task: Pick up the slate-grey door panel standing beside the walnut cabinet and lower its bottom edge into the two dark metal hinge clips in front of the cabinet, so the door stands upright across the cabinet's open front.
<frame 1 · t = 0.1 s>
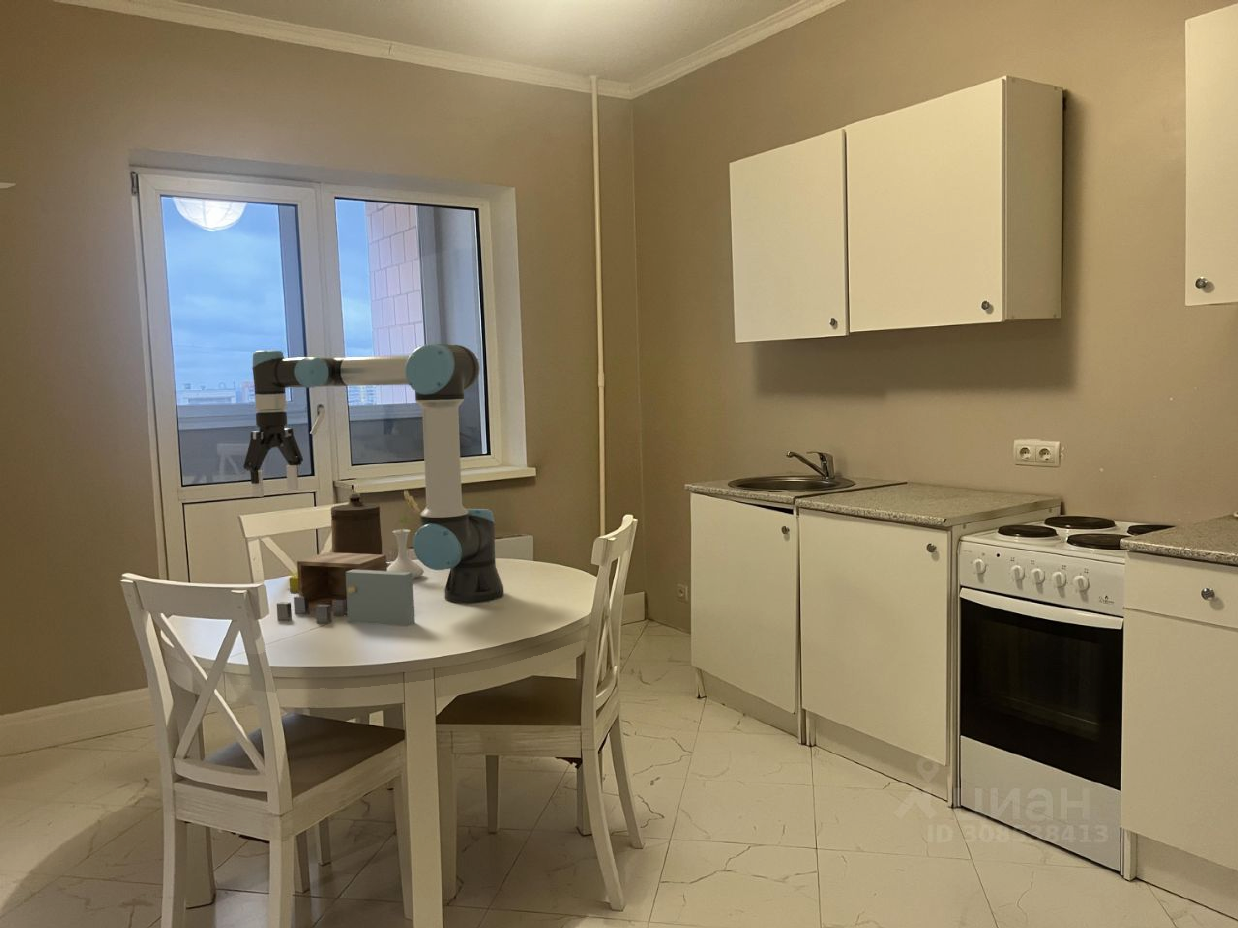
hand: (276, 493, 243), 28 cm above the table, tool pointing down, fingers open, 13 cm apart
wooden container: (358, 565, 289), on the table
door: (381, 622, 220), on the table
cabinet: (344, 604, 238), on the table
bracket: (311, 589, 259), on the table
hinge clips: (312, 617, 226), on the table
flower in vase: (405, 578, 267), on the table
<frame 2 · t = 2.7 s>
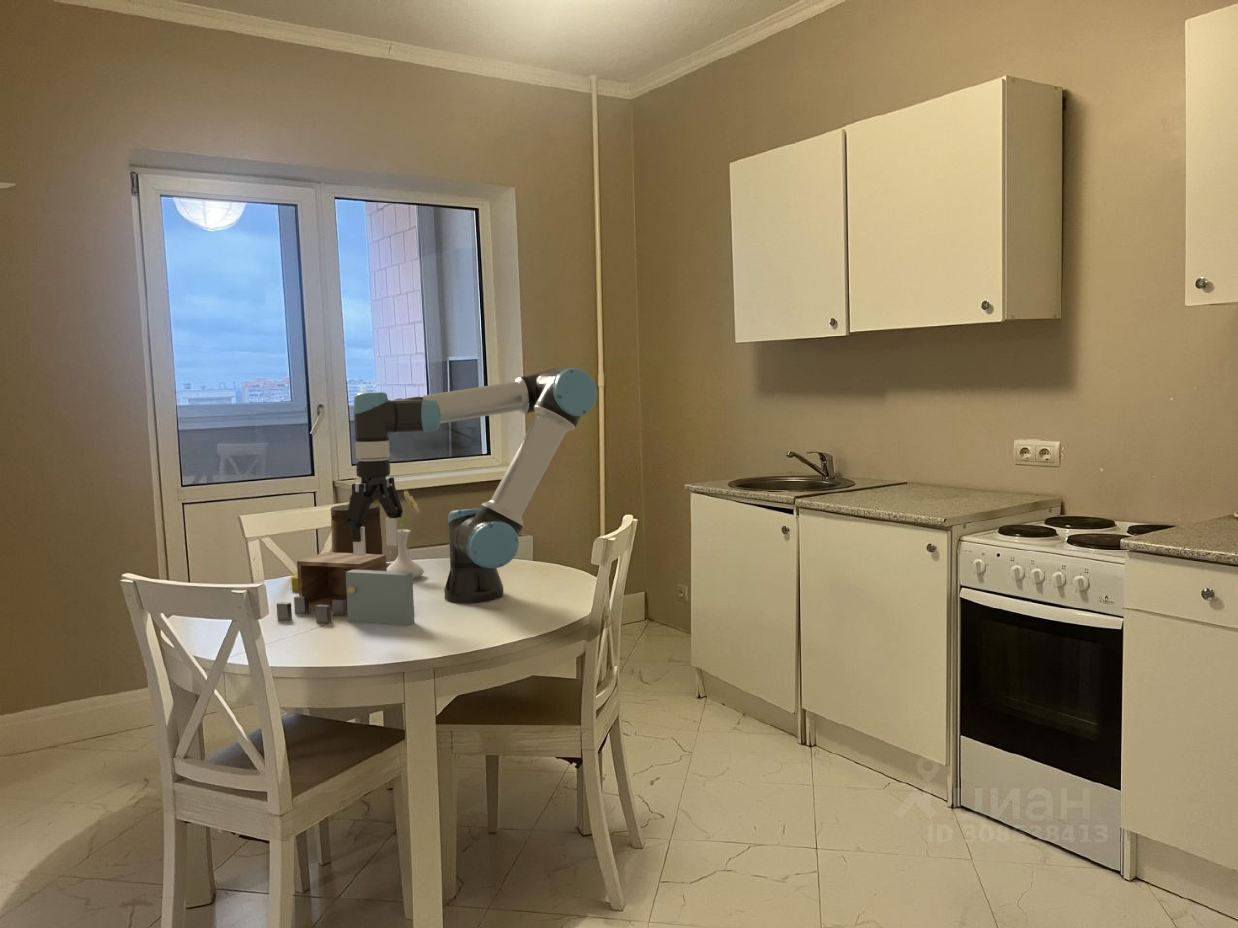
hand: (376, 550, 218), 17 cm above the table, tool pointing down, fingers open, 13 cm apart
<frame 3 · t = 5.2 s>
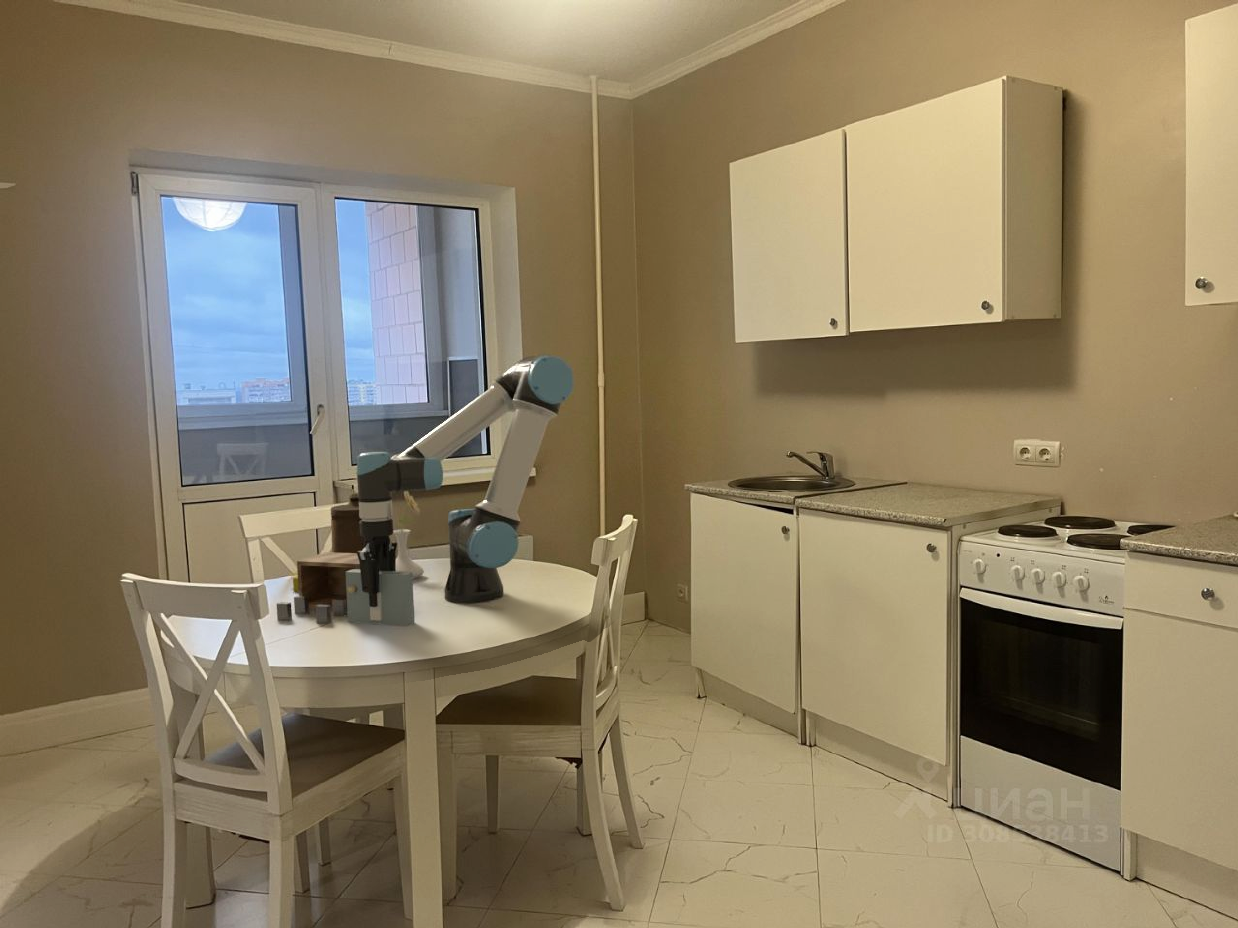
hand: (380, 617, 220), 1 cm above the table, tool pointing down, fingers closed on door, 3 cm apart
door: (381, 622, 220), on the table, touching gripper
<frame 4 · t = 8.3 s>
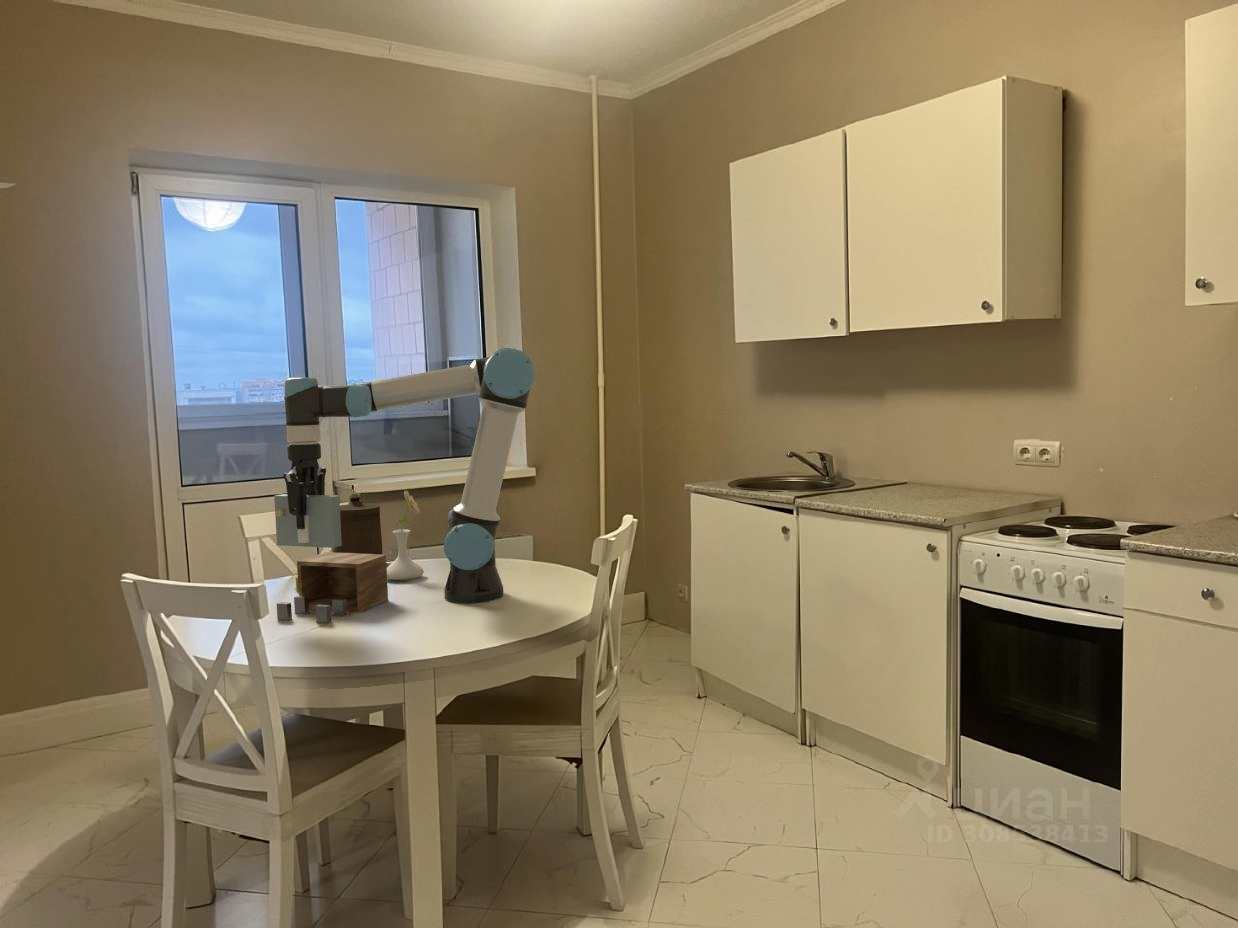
hand: (308, 540, 224), 19 cm above the table, tool pointing down, fingers closed on door, 3 cm apart
door: (309, 545, 224), point 18 cm above the table, touching gripper
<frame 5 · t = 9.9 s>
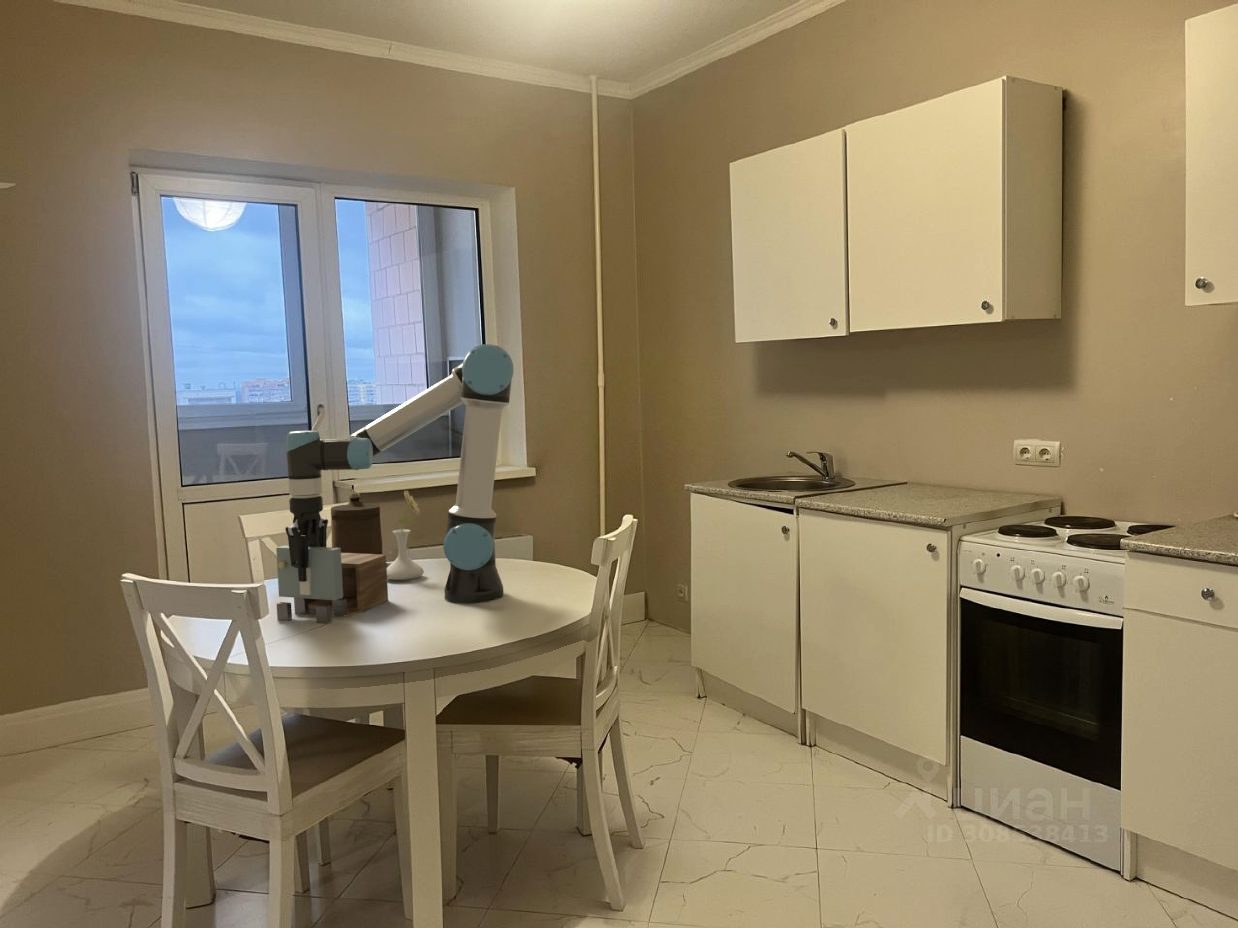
hand: (310, 592, 225), 6 cm above the table, tool pointing down, fingers closed on door, 3 cm apart
door: (310, 596, 225), point 5 cm above the table, touching gripper
when the fingers open (2 cm above the table, at t = 11.4 s): door stays where it is, on the table.
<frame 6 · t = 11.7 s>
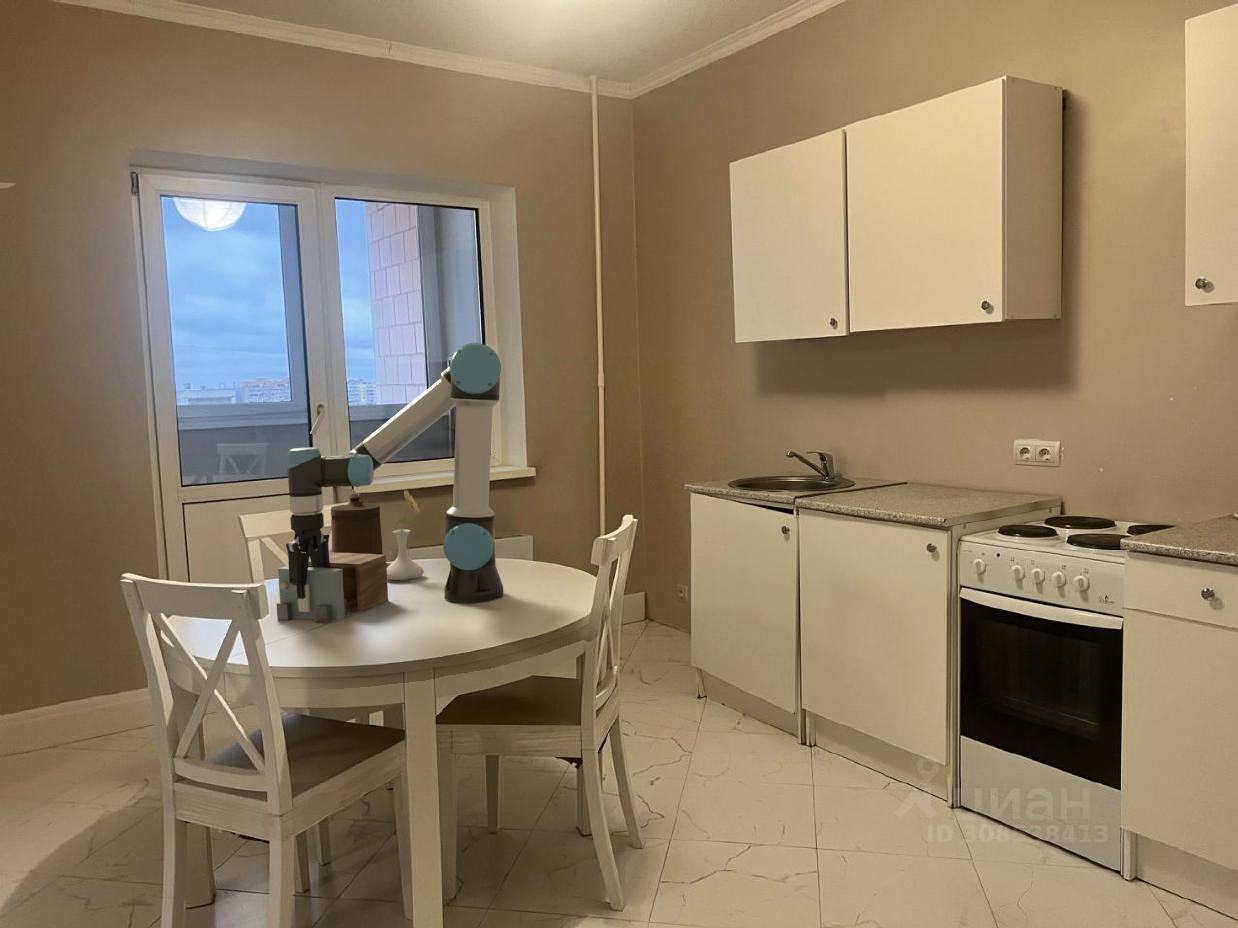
hand: (312, 608, 225), 2 cm above the table, tool pointing down, fingers open, 5 cm apart
door: (312, 617, 226), on the table
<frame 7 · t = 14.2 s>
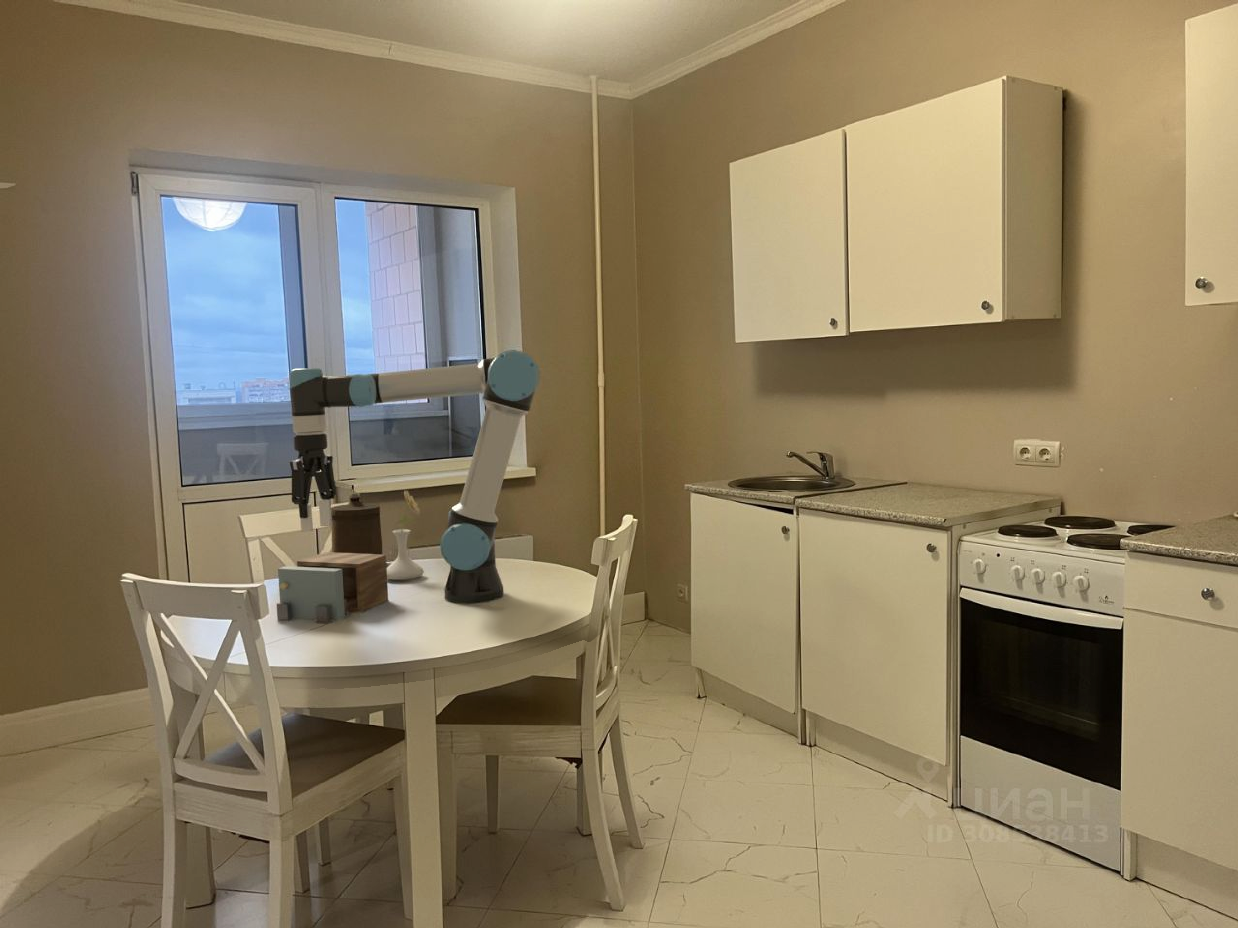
hand: (316, 528, 225), 21 cm above the table, tool pointing down, fingers open, 7 cm apart
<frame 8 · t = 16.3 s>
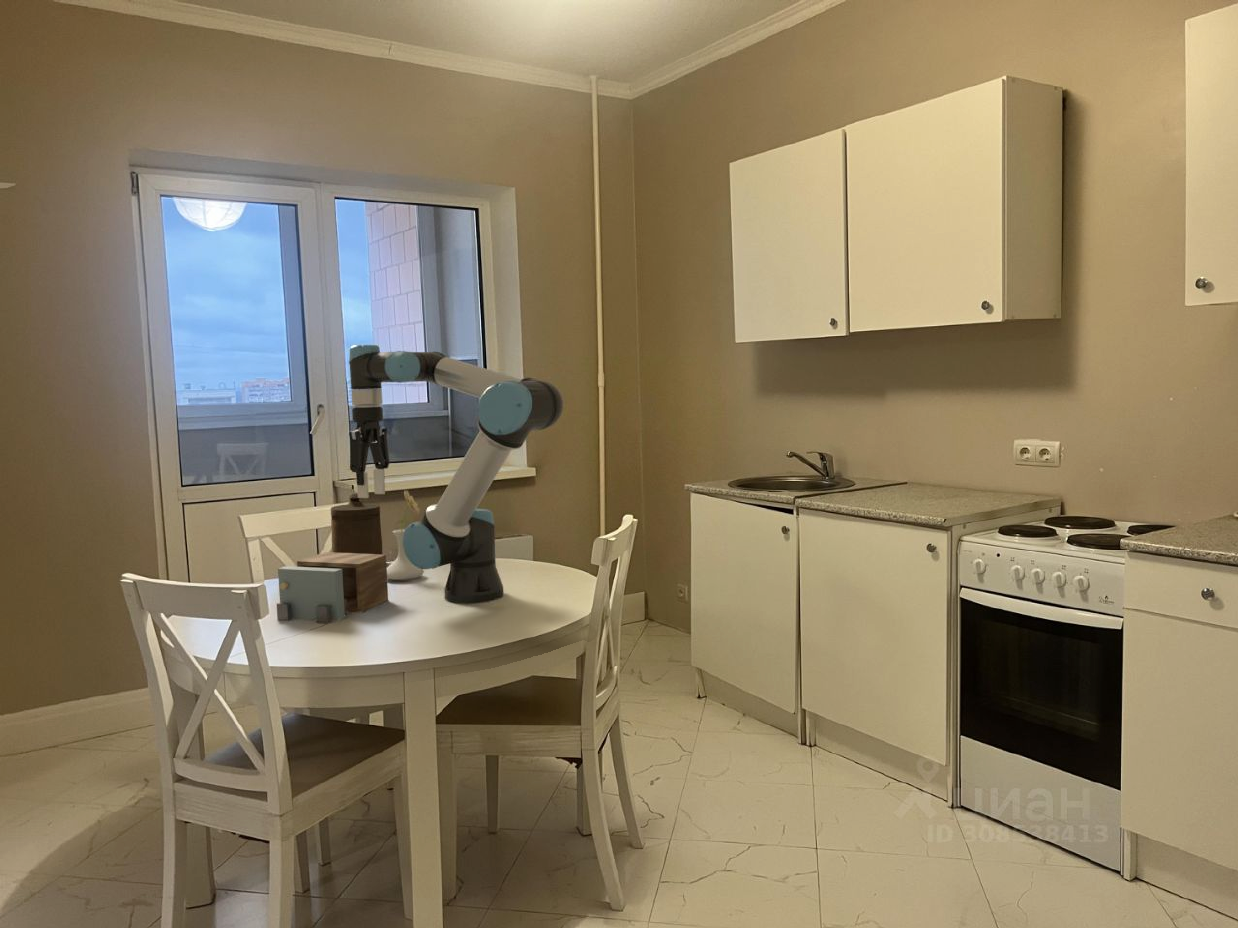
hand: (371, 495, 240), 27 cm above the table, tool pointing down, fingers open, 7 cm apart
at the end: door 0.0 cm off-centre on the hinge clips, point 0.0 cm above the hinge clips's base; door tilted 0°; the gripper is holding nothing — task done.
